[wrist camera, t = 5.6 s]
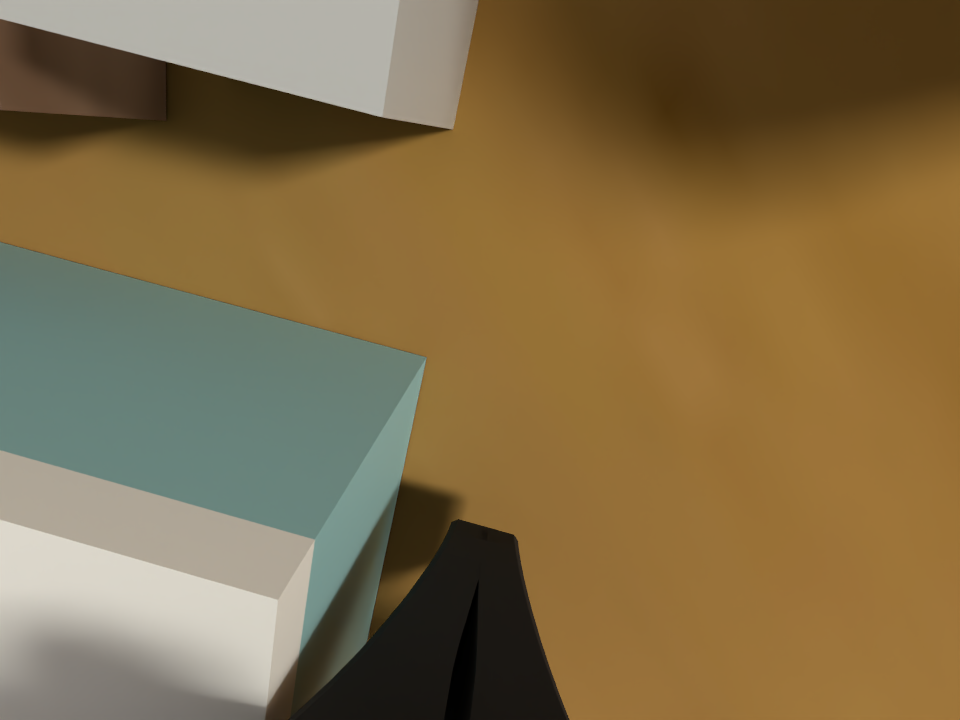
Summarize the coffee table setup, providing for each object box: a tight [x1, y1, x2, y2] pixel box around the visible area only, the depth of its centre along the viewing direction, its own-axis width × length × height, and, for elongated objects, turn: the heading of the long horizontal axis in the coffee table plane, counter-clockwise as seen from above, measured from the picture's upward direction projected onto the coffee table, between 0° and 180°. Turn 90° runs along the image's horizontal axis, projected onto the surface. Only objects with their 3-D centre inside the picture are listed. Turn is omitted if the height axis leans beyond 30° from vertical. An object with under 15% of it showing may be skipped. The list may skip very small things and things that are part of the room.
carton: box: [0, 242, 427, 720], centre depth 9 cm, size 8×11×6 cm
